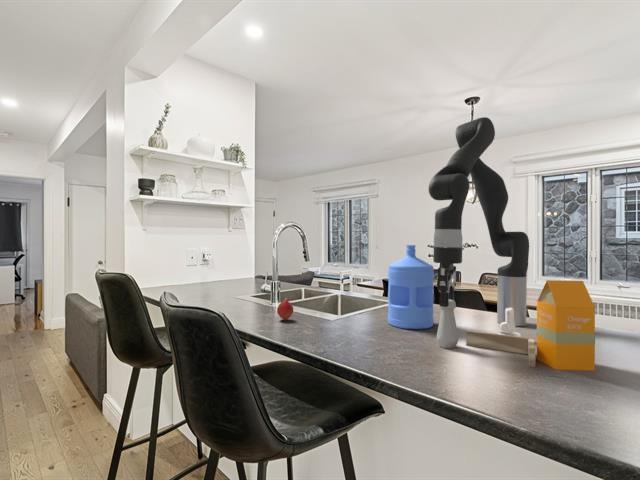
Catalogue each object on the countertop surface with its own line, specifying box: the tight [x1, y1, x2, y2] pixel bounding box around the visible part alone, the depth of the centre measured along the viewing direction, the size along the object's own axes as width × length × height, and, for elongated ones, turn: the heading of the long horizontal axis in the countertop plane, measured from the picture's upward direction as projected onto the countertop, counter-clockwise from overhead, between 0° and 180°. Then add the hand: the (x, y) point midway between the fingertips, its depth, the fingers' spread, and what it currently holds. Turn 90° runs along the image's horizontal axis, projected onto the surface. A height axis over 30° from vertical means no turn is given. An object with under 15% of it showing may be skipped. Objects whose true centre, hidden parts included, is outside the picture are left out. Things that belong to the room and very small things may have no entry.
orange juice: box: [536, 279, 596, 371], centre depth 84 cm, size 8×9×20 cm
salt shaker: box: [436, 299, 460, 350], centre depth 97 cm, size 6×6×13 cm
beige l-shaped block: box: [465, 329, 536, 368], centre depth 91 cm, size 12×16×4 cm
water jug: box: [387, 244, 435, 330], centre depth 124 cm, size 16×16×28 cm
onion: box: [276, 298, 294, 321], centre depth 128 cm, size 6×6×8 cm
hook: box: [496, 308, 524, 337], centre depth 105 cm, size 8×12×7 cm
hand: (446, 304), depth 97 cm, fingers open, 8 cm apart
